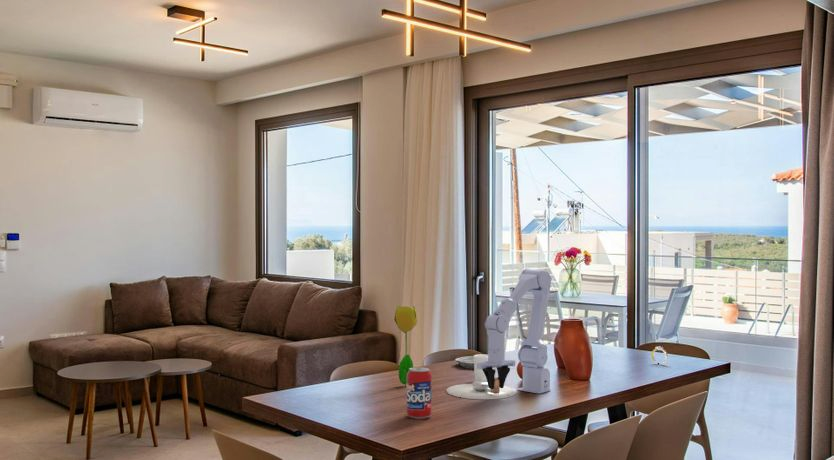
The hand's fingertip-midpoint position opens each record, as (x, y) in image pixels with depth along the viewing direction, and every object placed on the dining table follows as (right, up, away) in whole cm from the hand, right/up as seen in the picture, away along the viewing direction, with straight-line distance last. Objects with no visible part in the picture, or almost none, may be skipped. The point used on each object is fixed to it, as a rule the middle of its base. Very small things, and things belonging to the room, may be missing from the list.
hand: (496, 388), depth 265 cm
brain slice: (-2, -4, +61) cm, 61 cm away
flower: (-32, -3, +19) cm, 37 cm away
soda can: (-27, -3, -28) cm, 39 cm away
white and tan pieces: (-3, -2, +5) cm, 6 cm away
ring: (+79, -4, +68) cm, 104 cm away
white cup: (-2, -3, +27) cm, 27 cm away
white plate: (-4, -3, +9) cm, 10 cm away
